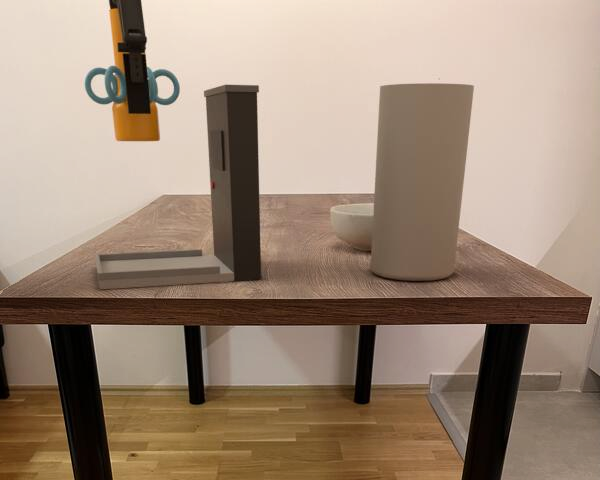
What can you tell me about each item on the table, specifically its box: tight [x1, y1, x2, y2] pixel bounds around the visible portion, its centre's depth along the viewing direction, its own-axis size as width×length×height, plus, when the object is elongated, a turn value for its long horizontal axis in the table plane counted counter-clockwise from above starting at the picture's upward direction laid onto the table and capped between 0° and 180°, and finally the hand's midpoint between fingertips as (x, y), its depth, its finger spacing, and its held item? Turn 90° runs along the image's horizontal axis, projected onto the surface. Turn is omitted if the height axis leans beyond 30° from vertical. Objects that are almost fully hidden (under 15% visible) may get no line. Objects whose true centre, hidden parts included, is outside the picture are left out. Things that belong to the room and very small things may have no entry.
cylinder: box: [84, 8, 181, 142], centre depth 84 cm, size 12×10×15 cm
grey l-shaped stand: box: [94, 84, 262, 290], centre depth 91 cm, size 23×16×25 cm
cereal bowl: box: [329, 202, 374, 252], centre depth 116 cm, size 17×17×7 cm
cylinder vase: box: [370, 82, 475, 282], centre depth 91 cm, size 12×12×25 cm
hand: (135, 114), depth 86 cm, fingers closed on cylinder, 11 cm apart
